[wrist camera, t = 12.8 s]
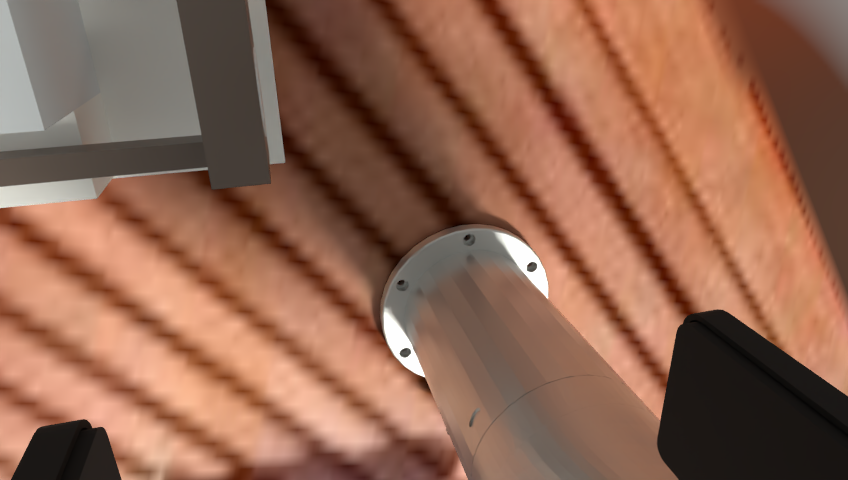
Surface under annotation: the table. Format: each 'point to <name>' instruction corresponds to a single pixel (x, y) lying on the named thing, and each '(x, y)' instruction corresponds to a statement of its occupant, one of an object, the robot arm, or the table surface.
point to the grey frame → (216, 106)
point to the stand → (104, 82)
